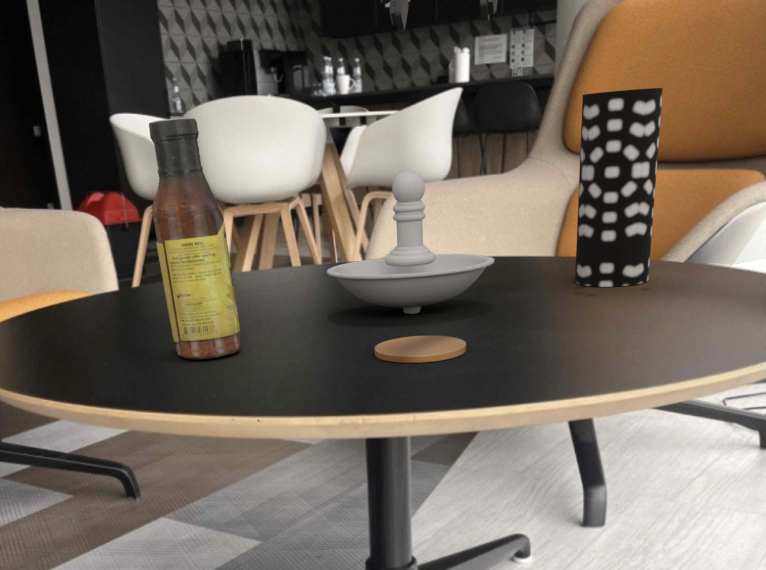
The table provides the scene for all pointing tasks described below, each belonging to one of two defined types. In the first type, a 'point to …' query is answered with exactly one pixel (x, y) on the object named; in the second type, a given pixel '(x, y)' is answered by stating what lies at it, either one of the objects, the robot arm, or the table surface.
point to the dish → (411, 280)
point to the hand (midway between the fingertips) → (441, 18)
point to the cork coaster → (420, 349)
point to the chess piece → (409, 222)
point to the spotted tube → (617, 186)
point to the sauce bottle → (192, 247)
